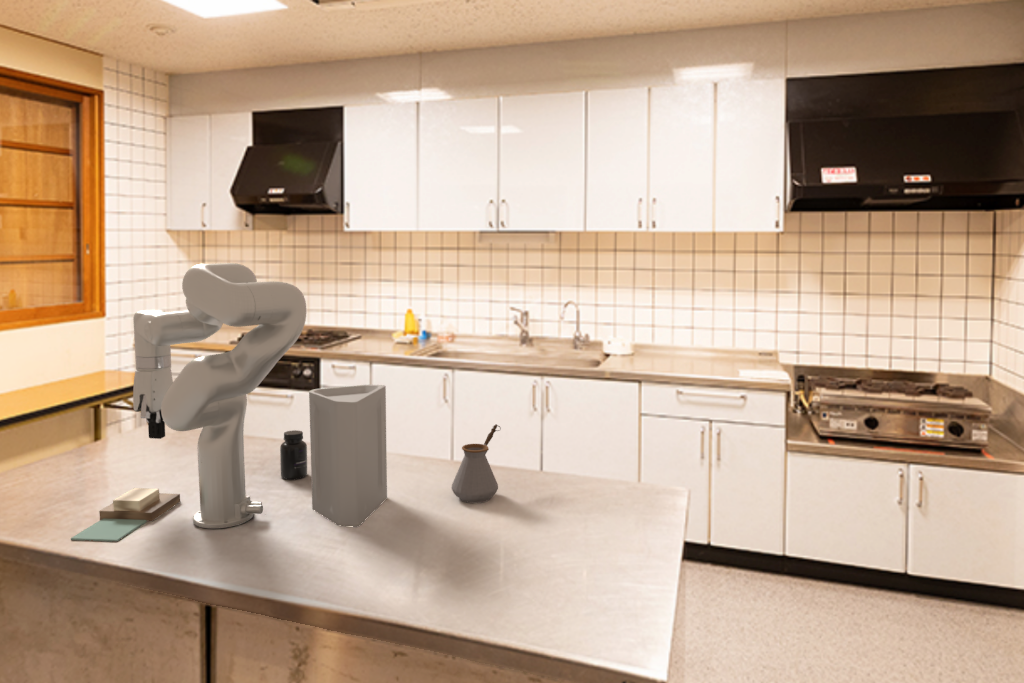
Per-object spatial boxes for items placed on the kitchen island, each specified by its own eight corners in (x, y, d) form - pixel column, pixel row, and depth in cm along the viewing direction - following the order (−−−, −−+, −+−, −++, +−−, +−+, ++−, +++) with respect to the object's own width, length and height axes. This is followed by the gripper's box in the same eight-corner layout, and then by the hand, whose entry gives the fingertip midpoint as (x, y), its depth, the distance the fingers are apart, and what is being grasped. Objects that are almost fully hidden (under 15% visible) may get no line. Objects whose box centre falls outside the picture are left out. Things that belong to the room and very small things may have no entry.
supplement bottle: (303, 480, 185) (301, 436, 184) (277, 480, 185) (275, 435, 184) (311, 472, 192) (309, 429, 190) (286, 471, 192) (284, 428, 191)
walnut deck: (180, 501, 169) (179, 493, 169) (152, 521, 157) (151, 512, 157) (131, 500, 170) (131, 492, 170) (99, 519, 158) (99, 510, 158)
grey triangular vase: (331, 493, 176) (328, 382, 173) (388, 497, 174) (386, 385, 170) (295, 522, 158) (291, 399, 154) (358, 527, 155) (355, 402, 151)
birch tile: (159, 498, 166) (158, 488, 165) (139, 511, 158) (139, 501, 157) (134, 497, 166) (134, 488, 166) (113, 510, 158) (113, 500, 158)
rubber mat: (146, 521, 157) (146, 519, 157) (117, 541, 146) (117, 539, 146) (103, 520, 158) (103, 518, 158) (70, 539, 147) (70, 538, 147)
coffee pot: (488, 508, 167) (488, 447, 165) (443, 502, 171) (443, 442, 169) (517, 481, 187) (518, 425, 185) (476, 475, 191) (477, 421, 189)
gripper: (155, 356, 175) (159, 428, 178) (118, 367, 160) (123, 445, 163) (185, 357, 175) (188, 430, 177) (151, 368, 160) (154, 447, 163)
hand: (157, 437), depth 170 cm, fingers closed
